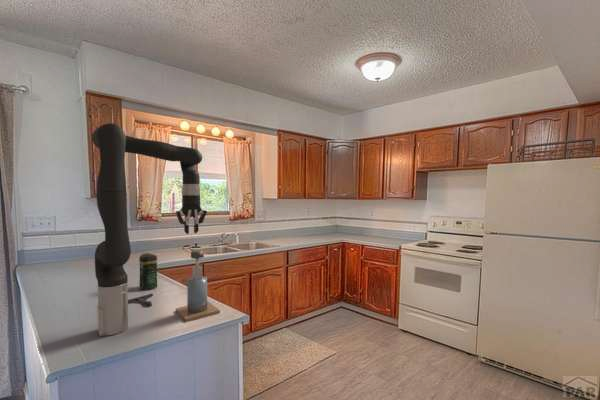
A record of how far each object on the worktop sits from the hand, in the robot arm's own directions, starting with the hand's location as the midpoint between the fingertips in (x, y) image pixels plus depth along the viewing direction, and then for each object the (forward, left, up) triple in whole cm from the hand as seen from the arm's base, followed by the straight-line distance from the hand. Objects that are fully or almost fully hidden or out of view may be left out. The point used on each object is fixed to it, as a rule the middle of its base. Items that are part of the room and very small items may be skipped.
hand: (191, 233), depth 128 cm
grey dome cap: (0, -9, -15) cm, 17 cm away
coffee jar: (-9, +43, -33) cm, 55 cm away
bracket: (-16, +20, -34) cm, 43 cm away
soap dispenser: (0, -7, -33) cm, 34 cm away
